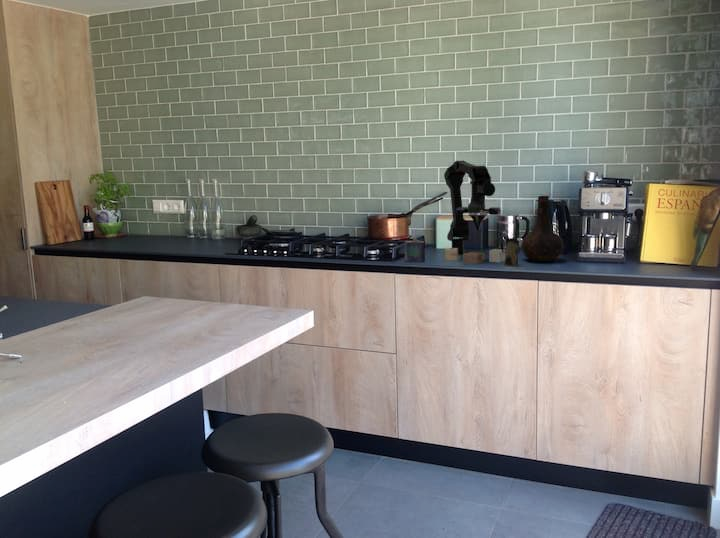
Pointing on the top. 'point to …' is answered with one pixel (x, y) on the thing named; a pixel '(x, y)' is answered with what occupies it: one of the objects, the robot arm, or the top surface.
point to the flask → (414, 251)
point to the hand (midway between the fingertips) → (478, 230)
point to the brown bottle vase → (542, 237)
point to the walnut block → (474, 257)
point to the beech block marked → (451, 254)
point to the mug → (510, 251)
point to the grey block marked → (496, 255)
